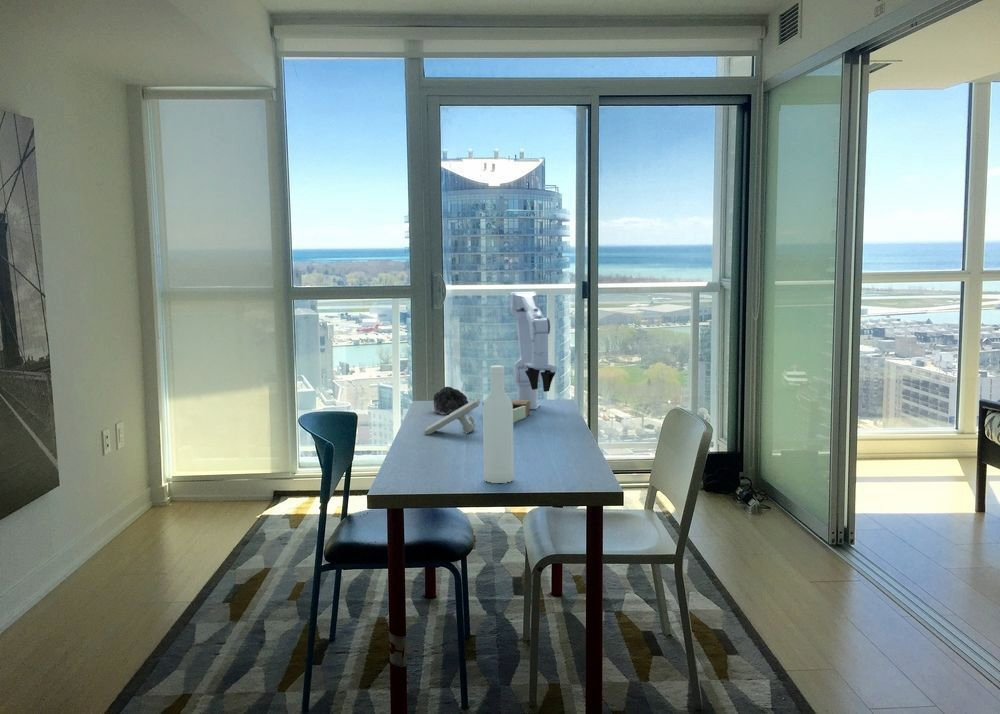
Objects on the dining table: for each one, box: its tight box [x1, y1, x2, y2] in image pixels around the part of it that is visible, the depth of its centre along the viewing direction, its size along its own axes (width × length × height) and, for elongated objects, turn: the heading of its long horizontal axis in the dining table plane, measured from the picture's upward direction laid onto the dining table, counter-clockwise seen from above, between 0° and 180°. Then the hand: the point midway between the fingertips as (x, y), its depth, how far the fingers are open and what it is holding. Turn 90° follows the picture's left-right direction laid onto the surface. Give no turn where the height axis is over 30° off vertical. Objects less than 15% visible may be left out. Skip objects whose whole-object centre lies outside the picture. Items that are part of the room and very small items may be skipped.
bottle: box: [482, 365, 515, 484], centre depth 212 cm, size 8×8×30 cm
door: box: [513, 406, 528, 423], centre depth 284 cm, size 2×16×4 cm, turn 148°
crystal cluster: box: [433, 386, 469, 416], centre depth 305 cm, size 13×14×10 cm
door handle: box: [424, 397, 481, 435], centre depth 275 cm, size 18×8×20 cm
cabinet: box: [482, 399, 531, 417], centre depth 296 cm, size 7×16×5 cm, turn 78°
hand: (540, 390), depth 290 cm, fingers open, 5 cm apart
